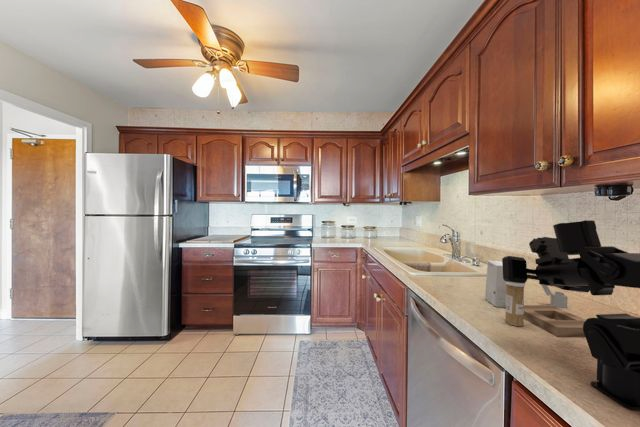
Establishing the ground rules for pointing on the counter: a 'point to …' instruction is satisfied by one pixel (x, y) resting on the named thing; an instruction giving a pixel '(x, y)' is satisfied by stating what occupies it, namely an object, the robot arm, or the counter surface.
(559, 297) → the lighter
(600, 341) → the robot arm
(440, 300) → the counter surface
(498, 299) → the skincare box
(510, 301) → the sprinkles bottle
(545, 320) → the brown wooden tray
